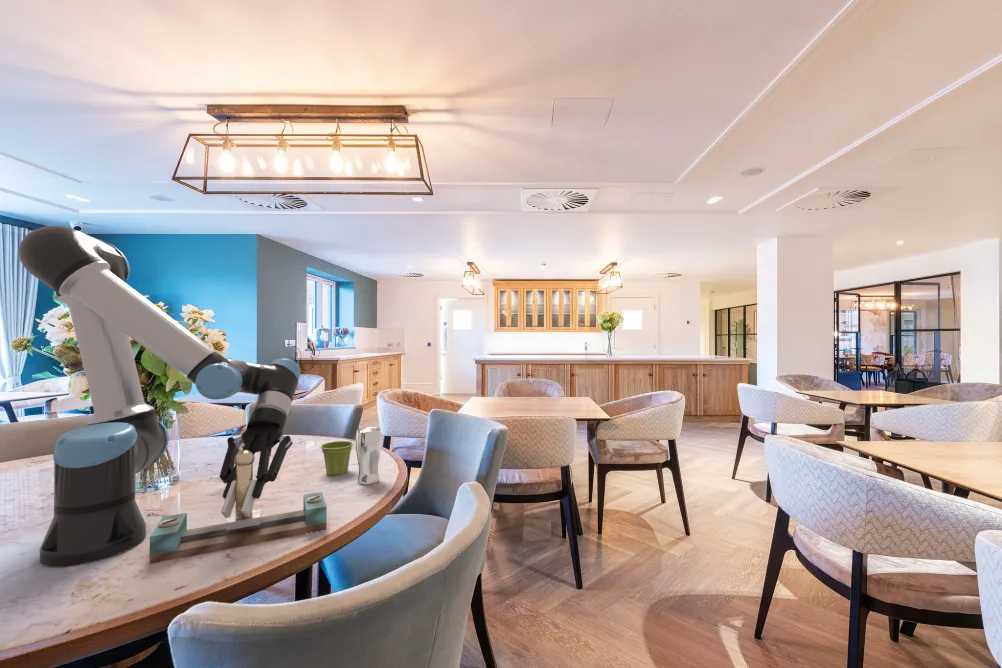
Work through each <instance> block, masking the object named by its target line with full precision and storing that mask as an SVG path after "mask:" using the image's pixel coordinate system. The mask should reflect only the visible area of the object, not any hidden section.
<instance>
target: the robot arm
mask: <svg viewBox="0 0 1002 668" xmlns="http://www.w3.org/2000/svg"><path fill="white" fill-rule="evenodd" d="M18 256H19V260H20V263H21V264H22V266H23V268H24V269H25V270H26V271H27V272H28V273H29V274H30V275H32V276H33V277H34V278H36V279H37V280H39V281H40V282H42V283H43V284H45V285H46V286H47V287H49V288H51V289H52V290H53V291H54V292H55V297H56V300H57V301H59V302H60V303H63V304H64V305H66V306H67V307H68V308H69V312H70V317H71V320H72V321H71V322H72V325H73V329H74V334H75V337H76V341H77V346H78V350H79V353H80V357H81V361H82V362H81V363H82V366H83V371H84V375H85V379H86V382H87V387H88V391H89V395H90V399H91V404H92V408H93V415H92V416H91V417H90V419H89V420H88V421H87V422H86V424H87V425H86V426H80V427H76V428H74V429H71V430H69V431H66V432H64V433H63V434H62V435H60V436H59V437H58V438H57V439H56V441H55V445H54V446H55V448H54V452H53V459H52V460H53V467H54V468H53V469H54V470H53V476H54V477H53V478H54V479H53V482H54V483H53V484H54V485H53V516H52V517H53V518H52V520H51V522H50V525H49V527H48V529H47V531H46V534H45V536H44V538H43V541H42V543H41V546H40V548H39V563H40V564H41V565H42V564H43V565H42V566H44V565H47V566H46V567H50V566H63V567H69V566H79V565H82V564H89V563H92V562H96V561H100V560H104V559H107V558H110V557H113V556H116V555H119V554H121V553H124V552H125V551H127V550H128V551H129V550H130V549H132V548H134V547H136V546H137V545H138V544H141V542H143V541H144V539H145V538H146V536H147V525H146V522H145V519H144V518H143V516H142V513H141V510H140V507H139V506H138V503H137V501H136V475H137V474H138V473H140V472H141V471H144V470H145V469H148V468H149V467H151V466H152V465H154V464H155V463H156V462H157V461H158V460H159V459H160V458H161V457H162V456H163V455H164V453H165V452H166V450H167V448H168V445H169V441H170V440H169V439H170V437H169V431H168V429H167V428H166V426H165V424H164V423H163V422H162V421H160V420H158V418H157V414H156V409H155V407H154V406H152V405H149V404H147V402H145V399H144V395H143V391H142V386H141V381H140V379H139V374H138V373H139V372H138V369H137V365H136V360H135V358H134V351H133V349H132V344H131V339H132V340H133V341H135V342H136V343H138V345H141V346H142V347H143V348H144V349H146V351H147V350H148V351H149V352H150V353H152V354H153V355H154V356H155V357H157V358H159V359H160V360H162V361H163V362H164V363H166V364H167V365H168V366H170V367H171V368H173V369H174V370H176V371H177V372H178V373H179V374H181V375H183V376H184V378H187V379H188V380H189V381H190V382H192V383H193V384H195V388H196V390H197V391H198V393H199V394H200V395H201V396H203V397H204V398H206V399H209V400H223V399H228V398H230V397H232V396H234V395H236V394H237V393H244V394H245V393H246V394H250V395H258V396H257V398H256V401H255V404H254V406H253V408H252V412H251V414H250V417H249V420H248V421H247V422H248V423H247V424H246V429H245V430H244V431H243V432H242V434H241V435H240V436H237V437H233V436H231V437H230V436H229V437H228V438H227V440H226V441H227V449H226V453H225V456H224V459H223V463H222V466H221V469H220V473H219V479H220V480H221V481H222V482H223V483H224V484H225V488H224V490H223V493H222V497H223V499H224V502H223V505H222V506H221V510H220V514H222V516H223V517H224V518H226V519H227V518H230V515H231V514H232V512H233V509H234V506H235V505H236V465H235V463H234V458H235V456H236V455H237V453H238V448H240V445H241V443H242V442H244V444H245V445H244V447H243V450H248V451H251V452H252V453H253V454H254V456H255V455H256V453H259V459H258V467H257V472H256V475H255V479H253V480H251V483H250V486H249V489H248V492H247V495H246V498H245V501H244V504H243V507H242V510H241V512H242V513H243V514H244V516H245V517H250V513H251V510H253V507H254V503H255V500H259V499H260V498H261V496H262V493H263V491H264V487H265V484H267V483H269V482H271V483H273V482H275V481H276V480H277V478H278V474H279V472H280V469H281V467H282V464H283V461H284V460H285V457H286V454H287V452H288V450H289V449H290V448H291V447H292V446H293V441H292V438H291V436H290V435H286V436H285V435H283V431H284V428H285V425H286V421H287V418H288V415H289V413H290V408H291V406H292V402H293V399H294V396H295V393H296V391H297V387H298V385H299V380H300V377H301V368H300V365H299V364H298V363H297V362H296V361H294V360H292V359H291V358H290V359H289V358H286V357H285V358H276V359H274V360H273V361H271V362H270V363H269V365H268V364H259V363H254V362H249V361H244V360H239V359H233V358H231V357H225V356H223V355H221V354H220V353H219V352H217V351H216V350H215V349H214V348H212V347H211V346H210V345H208V344H207V343H205V342H204V341H203V340H202V339H200V338H199V337H197V336H196V335H195V334H194V333H192V332H191V331H189V330H188V329H187V328H186V327H185V326H184V325H181V324H180V323H179V322H178V321H176V320H175V319H174V318H172V317H171V316H170V315H168V314H167V313H165V311H163V310H162V309H160V308H159V307H158V306H157V305H155V304H154V303H152V301H150V300H149V299H147V297H145V296H143V295H142V294H141V293H139V292H138V291H137V290H136V289H134V288H133V287H131V286H130V285H129V284H127V283H126V282H127V281H128V280H129V278H130V273H131V267H130V266H131V265H130V263H129V261H128V259H127V257H126V255H124V253H123V252H122V251H121V250H119V248H117V247H116V246H115V245H113V244H111V243H109V242H108V241H105V240H104V239H103V240H102V239H101V238H97V237H92V236H91V235H88V234H86V233H84V232H81V231H79V230H77V229H75V228H72V227H67V226H60V225H51V226H49V225H48V226H43V227H39V228H36V229H34V230H32V231H30V232H29V233H27V234H26V235H25V236H24V237H23V239H22V240H21V241H20V243H19V246H18ZM277 444H278V446H277ZM275 446H277V448H276V450H275V453H274V455H273V457H272V459H271V463H270V458H271V454H272V450H273V448H274V447H275Z"/></svg>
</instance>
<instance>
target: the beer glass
mask: <svg viewBox="0 0 1002 668" xmlns="http://www.w3.org/2000/svg"><path fill="white" fill-rule="evenodd" d="M381 434H382V433H381V428H380V427H376V426H375V427H373V426H371V427H362V428H358V429H356V436H355V438H356V439H355V451H356V452H355V453H356V458H357V465H358V477H357V484H358V483H359V485H360V484H363V485H362V486H368V485H367V484H371V485H375V484H378V483H379V482H380V474H379V462H380V457H381V456H380V455H381V451H382V435H381Z"/></svg>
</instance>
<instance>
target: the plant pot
mask: <svg viewBox="0 0 1002 668" xmlns="http://www.w3.org/2000/svg"><path fill="white" fill-rule="evenodd" d="M353 446H354V442H352V441H349V440H337V441H336V440H335V441H330V442H326V443H323V444H321V445H320V449H321V451H322V452H321V453H323V459H324V465H325V466H324V467H325V472H326V474H327V475H328V476H332V475H334V476H336V475H341V474H342V475H344V474H346V473H348V471H349V464H350V456H351V451H352V447H353Z"/></svg>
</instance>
